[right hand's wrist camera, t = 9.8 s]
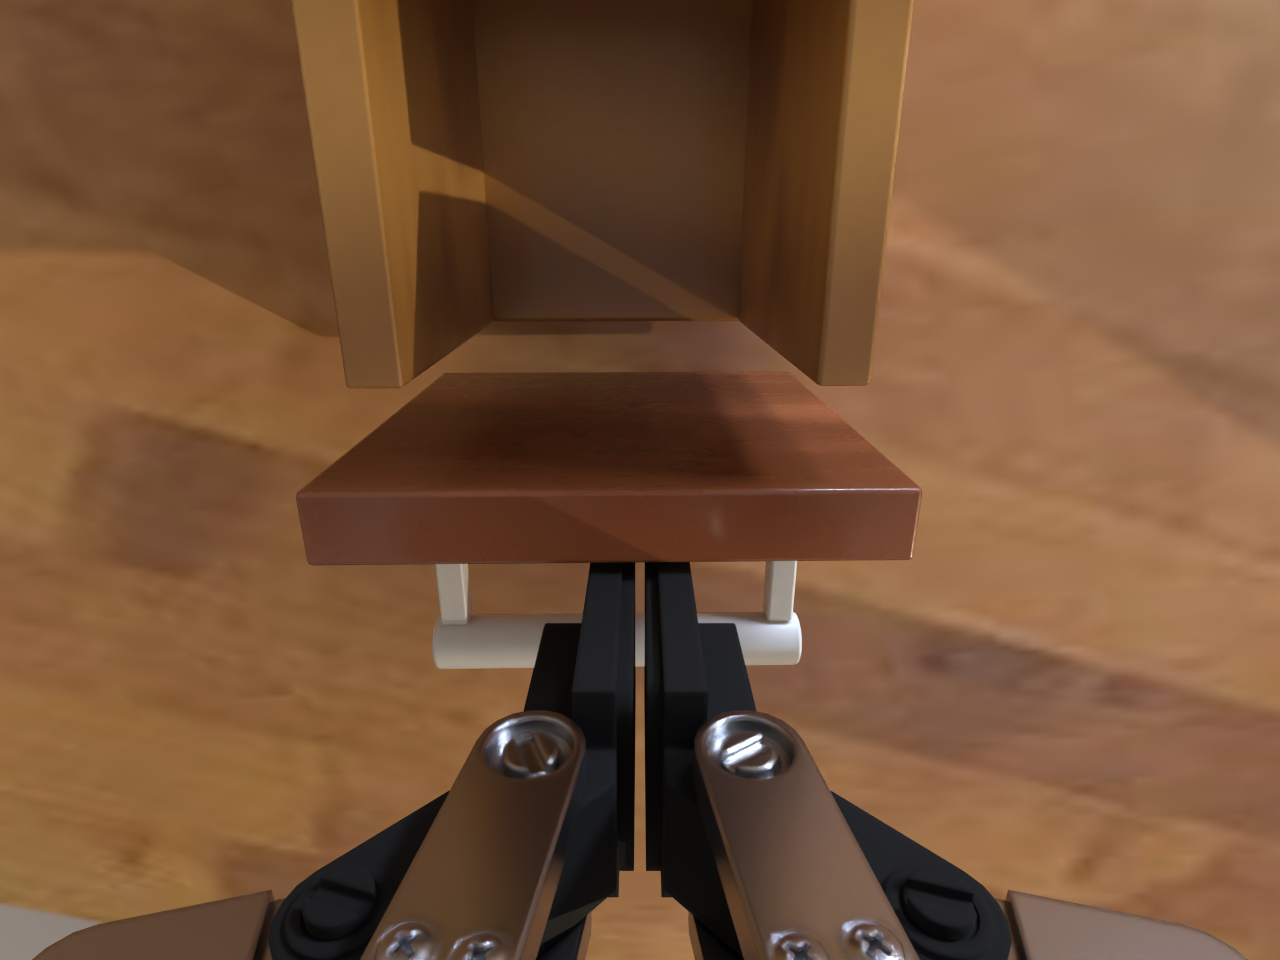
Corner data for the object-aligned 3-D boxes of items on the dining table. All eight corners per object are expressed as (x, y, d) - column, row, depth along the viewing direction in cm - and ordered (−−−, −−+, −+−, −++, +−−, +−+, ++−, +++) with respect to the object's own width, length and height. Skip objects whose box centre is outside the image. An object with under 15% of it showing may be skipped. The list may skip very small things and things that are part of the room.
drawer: (774, 578, 21) (876, 817, 12) (463, 581, 21) (352, 825, 12) (841, -330, 14) (1173, -1181, 6) (375, -337, 14) (-18, -1229, 5)
